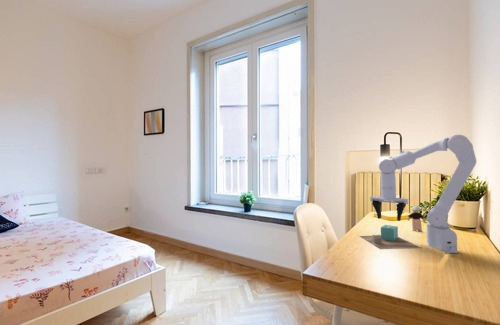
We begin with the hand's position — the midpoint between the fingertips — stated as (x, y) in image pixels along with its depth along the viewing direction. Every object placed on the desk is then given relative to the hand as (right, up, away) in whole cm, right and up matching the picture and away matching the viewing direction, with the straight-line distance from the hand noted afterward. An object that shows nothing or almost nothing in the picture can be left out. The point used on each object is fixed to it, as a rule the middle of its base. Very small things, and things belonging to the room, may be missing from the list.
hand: (389, 219), depth 112 cm
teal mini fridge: (0, -8, 0) cm, 8 cm away
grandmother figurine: (+21, -9, +15) cm, 27 cm away
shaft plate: (-3, -9, -4) cm, 11 cm away
